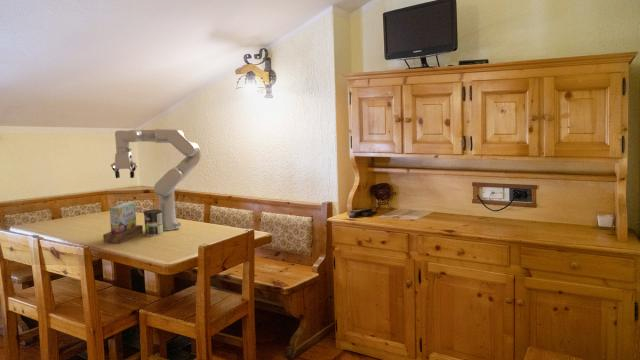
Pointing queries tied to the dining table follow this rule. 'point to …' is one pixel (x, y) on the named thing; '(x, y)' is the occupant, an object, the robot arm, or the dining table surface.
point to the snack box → (122, 217)
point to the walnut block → (123, 235)
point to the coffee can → (153, 222)
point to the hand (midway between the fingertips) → (125, 177)
